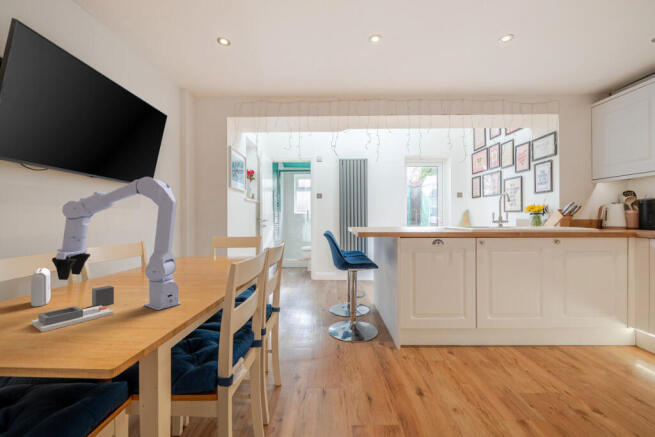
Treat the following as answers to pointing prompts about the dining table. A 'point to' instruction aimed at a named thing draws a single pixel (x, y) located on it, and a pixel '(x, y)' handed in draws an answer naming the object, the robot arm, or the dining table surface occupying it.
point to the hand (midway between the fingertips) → (69, 276)
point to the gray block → (102, 296)
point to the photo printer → (40, 287)
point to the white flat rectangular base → (68, 317)
